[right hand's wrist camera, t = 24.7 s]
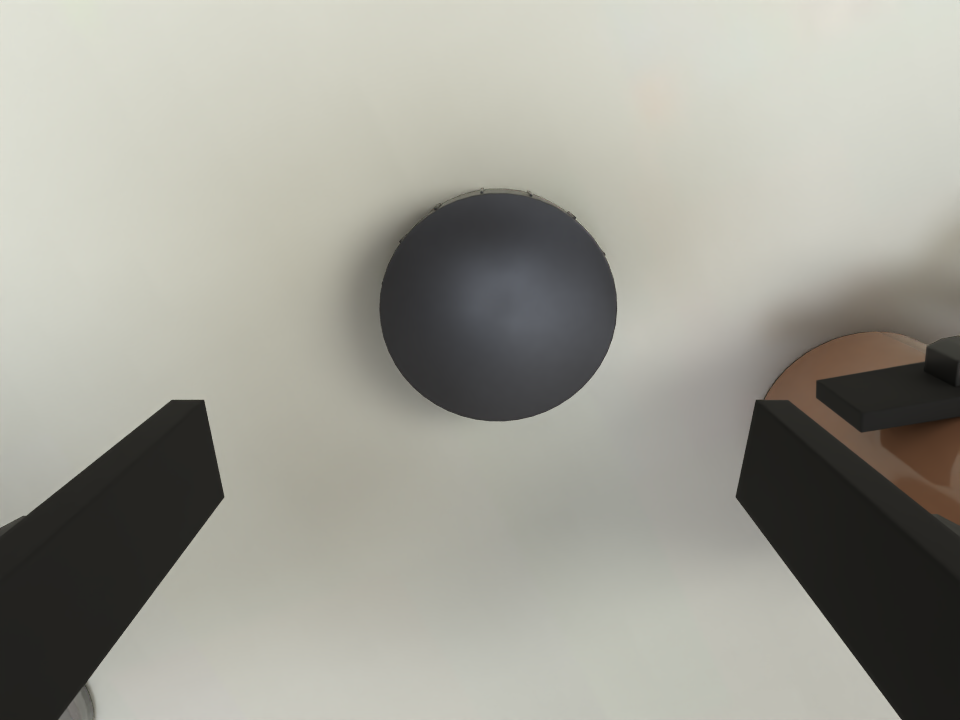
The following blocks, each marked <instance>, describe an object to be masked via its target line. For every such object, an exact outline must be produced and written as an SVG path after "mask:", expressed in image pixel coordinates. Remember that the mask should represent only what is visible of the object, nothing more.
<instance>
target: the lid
mask: <svg viewBox="0 0 960 720" xmlns="http://www.w3.org/2000/svg"><path fill="white" fill-rule="evenodd" d="M575 219H576V217H575V216H574V215H573V214H571V213H570V212H569V211H568V212H565V211H564V210H563V209H562V208H560V207H558V206H557V205H555V204H553V203H552V202H550V201H548V200H546V199H544V198H541V197H539V196H537V195H534V194H532V193H531V192H530V191H527V192H523V191H518V190H511V189H486V190H484V188H481V190H479V191H474V192H470V193H467V194H463V195H460V196H458V197H456V198H453V199H451V200H449V201H447V202H445V203H443V204H442V205H441V204H440V203H439V204H438V205H437V206H436V207H435V208H434V210H432V211H431V212H430V213H429V214H428V215H426V216H425V217H424V218H423V219H422V220H421V221H420V222H419V223H418V224H417V225H416V226H415V227H414V228H413V229H412V230H411V231H410V232H409V233H408V234H406V235H405V236H404V237H403V238H402V239H401V240H400V241H399V242H400V245H399V246H398V248H397V249H396V250H395V252H394V254H393V256H392V258H391V260H390V262H389V264H388V267H387V270H386V273H385V276H384V279H383V282H382V288H381V293H380V321H381V327H382V332H383V336H384V340H385V343H386V345H387V348H388V351H389V353H390V355H391V357H392V359H393V361H394V363H395V365H396V366H397V368H398V369H399V371H400V372H401V373H402V375H403V376H404V377H405V379H406V380H407V381H408V382H409V383H410V384H411V385H412V386H413V387H414V388H415V389H416V390H417V391H418V392H419V393H420V394H422V395H423V396H424V397H425V398H427V399H428V400H430V401H431V402H433V403H434V404H436V405H438V406H440V407H442V408H443V409H445V410H447V411H450V412H452V413H455V414H458V415H460V416H464V417H468V418H472V419H477V420H485V421H511V420H519V419H523V418H528V417H532V416H535V415H538V414H541V413H543V412H546V411H548V410H550V409H552V408H554V407H556V406H558V405H560V404H561V403H563V402H564V401H566V400H567V399H569V398H570V397H572V396H573V395H574V394H575V393H576V392H578V391H579V390H580V389H581V388H582V387H583V386H584V385H585V384H586V383H587V382H588V381H589V380H590V379H591V377H592V376H593V375H594V373H595V372H596V370H597V369H598V368H599V366H600V365H601V363H602V361H603V359H604V357H605V355H606V354H607V351H608V349H609V346H610V343H611V341H612V338H613V333H614V329H615V325H616V315H617V297H616V289H615V284H614V279H613V276H612V273H611V270H610V267H609V264H608V262H607V260H606V258H605V253H604V252H603V251H602V250H601V249H600V247H599V246H598V244H597V243H596V241H595V240H594V238H593V237H592V236H591V235H590V234H589V233H588V232H587V231H586V229H585V228H584V227H583V226H582V225H581V224H580V223H579V222H577V221H576V220H575Z"/></svg>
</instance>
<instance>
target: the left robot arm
mask: <svg viewBox="0 0 960 720" xmlns="http://www.w3.org/2000/svg"><path fill="white" fill-rule="evenodd" d="M816 398H817V399H818V400H819V401H821V402H822V403H823V404H825V405H826V406H827V407H828V408H830V409H831V410H832V411H834V412H835V413H836V414H837V415H839V416H840V417H841V418H843V419H844V420H845V421H846V422H848V423H849V424H850V425H852V426H853V427H854V428H856V429H857V430H858V431H859V432H861V433H863V432H869V431H875V430H881V429H887V428H893V427H900V426H906V425H912V424H918V423H924V422H930V421H936V420H942V419H949V418H955V417H960V336H954V337H949V338H943V339H940V340H938V341H936V342H934V343H932V344H931V345H929V346H927V347H926V356H925V361H924V362H919V363H913V364H907V365H901V366H896V367H890V368H884V369H878V370H873V371H867V372H861V373H855V374H850V375H844V376H838V377H832V378H826V379H821V380H816Z"/></svg>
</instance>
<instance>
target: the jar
mask: <svg viewBox="0 0 960 720" xmlns="http://www.w3.org/2000/svg"><path fill="white" fill-rule="evenodd" d="M927 346H929V345H926V344H924V343H922V342H920V341H918V340H915V339H913V338H911V337H908V336H904V335H901V334H896V333H890V332H863V333H856V334H851V335H847V336H843V337H840V338H837V339H834V340H831V341H829V342H827V343H824V344H822V345H820V346H818V347H816V348H815V349H813V350H811V351H809V352H807V353H806V354H805V355H803V356H802V357H800V358H799V359H798V360H796V361H795V362H794V363H793V364H792V365H791V366H789V367H788V368H787V369H786V370H785V371H784V372H783V373H782V375H781V376H780V377H779V378H778V379H777V380H776V382H775V383H774V384H773V386H772V387H771V389H770V390H769V392H768V394H767V396H766V397H765V399H764V400H789V401H790V402H791V403H793V404H794V405H795V406H796V407H798V408H799V409H800V410H801V411H803V412H804V413H805V414H806V415H808V416H809V417H810V418H811V419H813V420H814V421H815V422H816V423H818V424H819V425H820V426H822V427H823V428H824V429H825V430H827V431H828V432H829V433H830V434H832V435H833V436H834V437H835V438H837V439H838V440H839V441H840V442H842V443H843V444H844V445H845V446H847V447H848V448H849V449H850V450H852V451H853V452H854V453H855V454H857V455H858V456H859V457H860V458H862V459H863V460H864V461H865V462H867V463H868V464H869V465H870V466H872V467H873V468H874V469H875V470H877V471H878V472H879V473H880V474H882V475H883V476H884V477H886V478H887V479H888V480H889V481H891V482H892V483H893V484H894V485H896V486H897V487H898V488H899V489H901V490H902V491H903V492H904V493H906V494H907V495H908V496H909V497H911V498H912V499H913V500H914V501H916V502H917V503H918V504H919V505H921V506H922V507H923V508H924V509H926V510H927V511H928V512H929V513H931V514H938V515H940V516H942V517H944V518H946V519H948V520H950V521H952V522H954V523H956V524H957V525H959V526H960V417H955V418H949V419H942V420H936V421H930V422H924V423H918V424H912V425H906V426H900V427H893V428H887V429H881V430H875V431H869V432H863V433H861V432H859V431H858V430H857V429H856V428H854V427H853V426H852V425H850V424H849V423H848V422H846V421H845V420H844V419H843V418H841V417H840V416H839V415H837V414H836V413H835V412H834V411H832V410H831V409H830V408H828V407H827V406H826V405H825V404H823V403H822V402H821V401H819V400H818V399H817V398H816V380H821V379H826V378H832V377H838V376H844V375H850V374H855V373H861V372H867V371H873V370H878V369H884V368H890V367H896V366H901V365H907V364H913V363H919V362H924V361H925V356H926V347H927Z"/></svg>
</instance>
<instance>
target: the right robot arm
mask: <svg viewBox="0 0 960 720" xmlns="http://www.w3.org/2000/svg"><path fill="white" fill-rule="evenodd" d="M223 498H224V493H223V488H222V483H221V479H220V474H219V469H218V464H217V460H216V455H215V450H214V445H213V440H212V436H211V431H210V426H209V421H208V416H207V412H206V407H205V402H204V400H171V401H170V402H169V403H167V404H166V405H165V406H164V407H162V408H161V409H160V410H159V411H157V412H156V413H155V414H154V415H152V416H151V417H150V418H149V419H147V420H146V421H145V422H144V423H142V424H141V425H140V426H138V427H137V428H136V429H135V430H133V431H132V432H131V433H130V434H128V435H127V436H126V437H125V438H123V439H122V440H121V441H120V442H118V443H117V444H116V445H115V446H113V447H112V448H111V449H110V450H108V451H107V452H106V453H105V454H103V455H102V456H101V457H100V458H98V459H97V460H96V461H95V462H93V463H92V464H91V465H90V466H88V467H87V468H86V469H85V470H83V471H82V472H81V473H80V474H78V475H77V476H76V477H74V478H73V479H72V480H71V481H69V482H68V483H67V484H66V485H64V486H63V487H62V488H61V489H59V490H58V491H57V492H56V493H54V494H53V495H52V496H51V497H49V498H48V499H47V500H46V501H44V502H43V503H42V504H41V505H39V506H38V507H37V508H36V509H34V510H33V511H32V512H31V513H29V514H28V515H27V516H22V517H20V518H18V519H16V520H14V521H13V522H11V523H9V524H7V525H5V526H3V527H1V528H0V720H93V718H94V714H93V705H92V701H91V698H90V695H89V693H88V690H87V688H86V686H85V683H86V682H87V681H88V679H89V678H90V677H91V675H92V674H93V672H94V671H95V670H96V668H97V667H98V666H99V664H100V663H101V662H102V660H103V659H104V658H105V656H106V655H107V654H108V652H109V651H110V650H111V648H112V647H113V646H114V644H115V643H116V642H117V640H118V639H119V638H120V636H121V635H122V634H123V632H124V631H125V630H126V628H127V627H128V626H129V624H130V623H131V622H132V620H133V619H134V618H135V616H136V615H137V614H138V612H139V611H140V609H141V608H142V607H143V605H144V604H145V603H146V601H147V600H148V599H149V597H150V596H151V595H152V593H153V592H154V591H155V589H156V588H157V587H158V585H159V584H160V583H161V581H162V580H163V579H164V577H165V576H166V575H167V573H168V572H169V571H170V569H171V568H172V567H173V565H174V564H175V563H176V561H177V560H178V559H179V557H180V556H181V555H182V553H183V552H184V551H185V549H186V548H187V546H188V545H189V544H190V542H191V541H192V540H193V538H194V537H195V536H196V534H197V533H198V532H199V530H200V529H201V528H202V526H203V525H204V524H205V522H206V521H207V520H208V518H209V517H210V516H211V514H212V513H213V512H214V510H215V509H216V508H217V506H218V505H219V504H220V502H221V501H222V500H223ZM736 498H737V500H738V501H739V502H740V504H741V505H742V506H743V508H744V509H745V510H746V512H747V513H748V514H749V516H750V517H751V518H752V520H753V521H754V522H755V524H756V525H757V526H758V528H759V529H760V530H761V532H762V533H763V534H764V536H765V537H766V538H767V540H768V541H769V542H770V544H771V545H772V546H773V548H774V549H775V551H776V552H777V553H778V555H779V556H780V557H781V559H782V560H783V561H784V563H785V564H786V565H787V567H788V568H789V569H790V571H791V572H792V573H793V575H794V576H795V577H796V579H797V580H798V581H799V583H800V584H801V585H802V587H803V588H804V589H805V591H806V592H807V593H808V595H809V596H810V597H811V599H812V600H813V601H814V603H815V604H816V605H817V607H818V608H819V609H820V611H821V612H822V614H823V615H824V616H825V618H826V619H827V620H828V622H829V623H830V624H831V626H832V627H833V628H834V630H835V631H836V632H837V634H838V635H839V636H840V638H841V639H842V640H843V642H844V643H845V644H846V646H847V647H848V648H849V650H850V651H851V652H852V654H853V655H854V656H855V658H856V659H857V660H858V662H859V663H860V664H861V666H862V667H863V668H864V670H865V671H866V672H867V674H868V675H869V677H870V678H871V679H872V681H873V682H874V683H875V685H876V686H877V687H878V689H879V690H880V691H881V693H882V694H883V695H884V697H885V698H886V699H887V701H888V702H889V703H890V705H891V706H892V707H893V709H894V710H895V711H896V713H897V714H898V715H899V717H900V718H901V719H902V720H960V526H959V525H957V524H956V523H954V522H952V521H950V520H948V519H946V518H944V517H942V516H940V515H938V514H931V513H929V512H928V511H927V510H926V509H924V508H923V507H922V506H921V505H919V504H918V503H917V502H916V501H914V500H913V499H912V498H911V497H909V496H908V495H907V494H906V493H904V492H903V491H902V490H901V489H899V488H898V487H897V486H896V485H894V484H893V483H892V482H891V481H889V480H888V479H887V478H886V477H884V476H883V475H882V474H880V473H879V472H878V471H877V470H875V469H874V468H873V467H872V466H870V465H869V464H868V463H867V462H865V461H864V460H863V459H862V458H860V457H859V456H858V455H857V454H855V453H854V452H853V451H852V450H850V449H849V448H848V447H847V446H845V445H844V444H843V443H842V442H840V441H839V440H838V439H837V438H835V437H834V436H833V435H832V434H830V433H829V432H828V431H827V430H825V429H824V428H823V427H822V426H820V425H819V424H818V423H816V422H815V421H814V420H813V419H811V418H810V417H809V416H808V415H806V414H805V413H804V412H803V411H801V410H800V409H799V408H798V407H796V406H795V405H794V404H793V403H791V402H790V401H789V400H756V402H755V407H754V412H753V416H752V421H751V426H750V431H749V436H748V440H747V445H746V450H745V455H744V460H743V464H742V469H741V474H740V479H739V483H738V488H737V493H736Z"/></svg>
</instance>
